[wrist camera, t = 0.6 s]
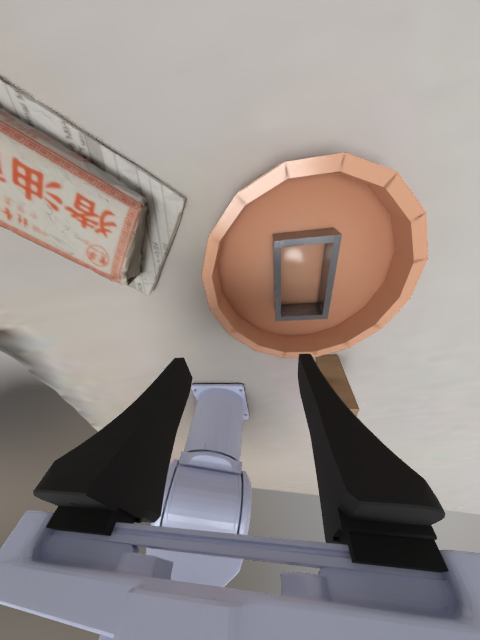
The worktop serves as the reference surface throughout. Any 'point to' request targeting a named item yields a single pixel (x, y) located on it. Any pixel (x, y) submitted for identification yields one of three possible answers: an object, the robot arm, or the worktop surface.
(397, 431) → the worktop surface
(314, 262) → the orange round shallow bowl
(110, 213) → the packaged product
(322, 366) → the wood hatch door
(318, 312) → the hinged hatch frame
